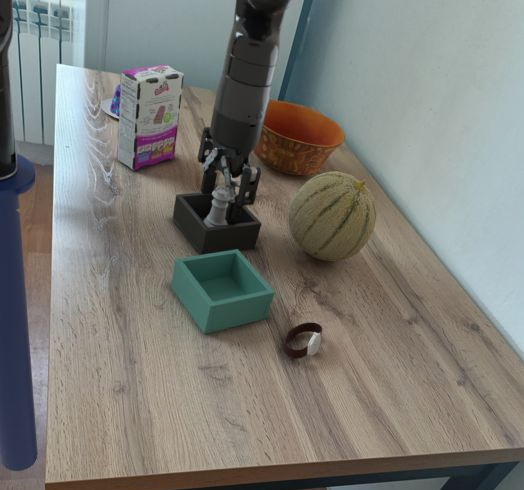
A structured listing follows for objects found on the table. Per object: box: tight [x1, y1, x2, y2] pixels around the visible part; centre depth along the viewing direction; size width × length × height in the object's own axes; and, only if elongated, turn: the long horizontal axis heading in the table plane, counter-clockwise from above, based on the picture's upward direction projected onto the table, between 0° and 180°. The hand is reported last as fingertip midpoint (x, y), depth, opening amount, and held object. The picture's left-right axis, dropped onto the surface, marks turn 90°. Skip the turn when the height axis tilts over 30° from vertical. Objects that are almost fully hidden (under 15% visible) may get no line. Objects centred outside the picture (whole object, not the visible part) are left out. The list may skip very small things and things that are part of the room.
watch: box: [283, 321, 323, 360], centre depth 76 cm, size 8×5×4 cm, turn 147°
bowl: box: [252, 99, 346, 176], centre depth 116 cm, size 21×21×10 cm
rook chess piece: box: [203, 185, 230, 228], centre depth 89 cm, size 4×4×8 cm
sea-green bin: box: [170, 249, 276, 335], centre depth 78 cm, size 11×11×5 cm
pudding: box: [100, 84, 120, 120], centre depth 116 cm, size 12×12×5 cm
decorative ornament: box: [217, 171, 241, 195], centre depth 102 cm, size 4×8×5 cm, turn 160°
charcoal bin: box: [171, 191, 262, 255], centre depth 91 cm, size 11×11×5 cm
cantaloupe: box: [287, 171, 377, 262], centre depth 92 cm, size 15×15×15 cm
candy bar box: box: [116, 64, 185, 172], centre depth 100 cm, size 11×5×16 cm, turn 143°
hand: (218, 206), depth 89 cm, fingers open, 8 cm apart
